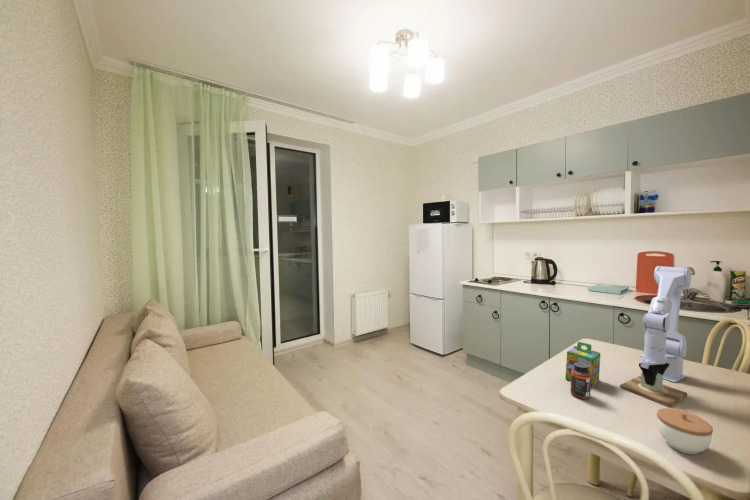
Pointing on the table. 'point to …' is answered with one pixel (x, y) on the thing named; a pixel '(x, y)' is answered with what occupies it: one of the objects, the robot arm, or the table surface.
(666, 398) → the rest board
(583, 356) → the chalk box
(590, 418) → the table surface
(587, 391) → the supplement bottle
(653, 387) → the block
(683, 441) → the lidded jar
